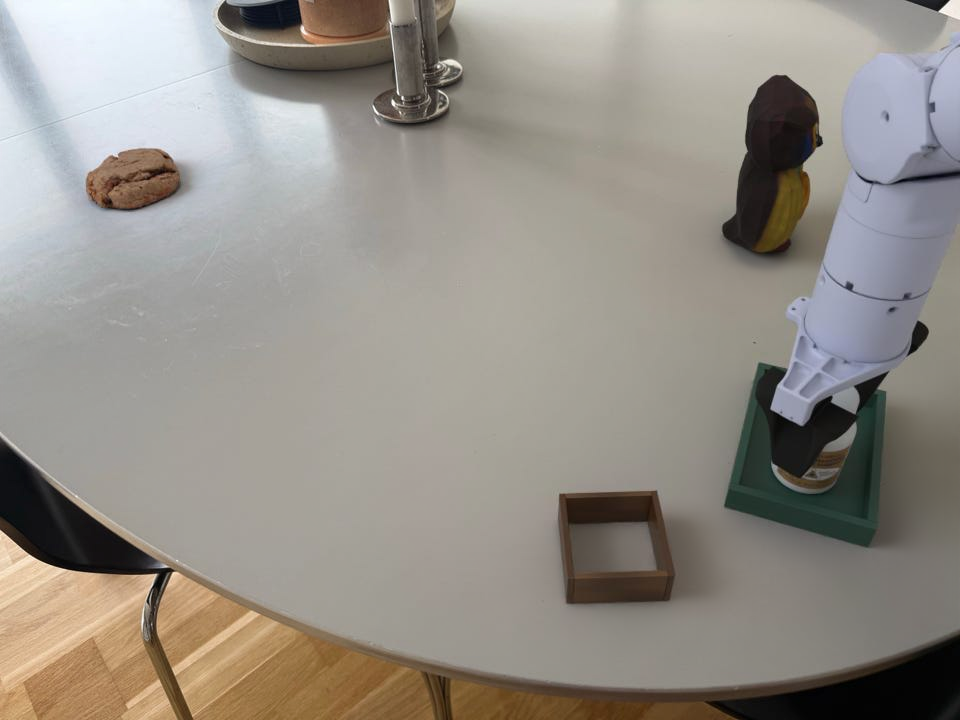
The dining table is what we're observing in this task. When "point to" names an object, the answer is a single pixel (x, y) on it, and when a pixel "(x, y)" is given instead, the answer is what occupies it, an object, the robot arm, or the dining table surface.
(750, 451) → the tray
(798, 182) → the figurine
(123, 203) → the cookie
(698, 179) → the dining table surface
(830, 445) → the pill bottle
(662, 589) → the wooden frame
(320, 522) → the dining table surface
